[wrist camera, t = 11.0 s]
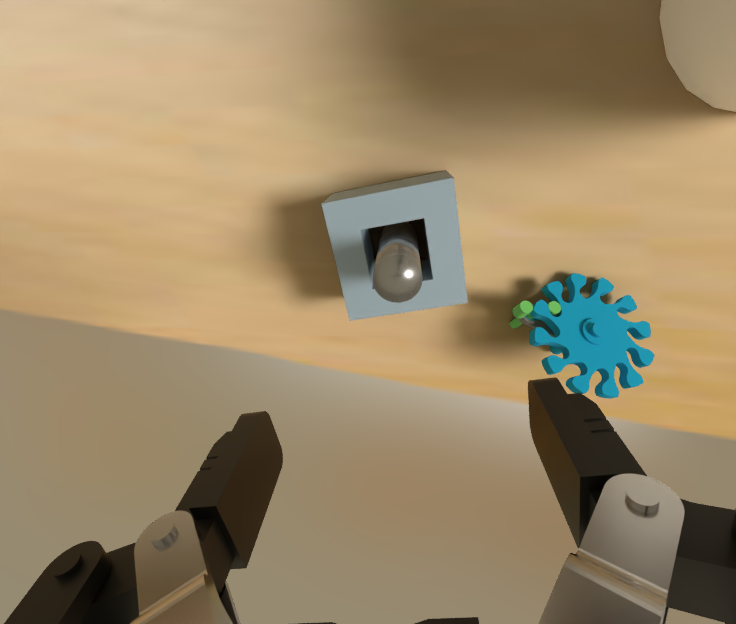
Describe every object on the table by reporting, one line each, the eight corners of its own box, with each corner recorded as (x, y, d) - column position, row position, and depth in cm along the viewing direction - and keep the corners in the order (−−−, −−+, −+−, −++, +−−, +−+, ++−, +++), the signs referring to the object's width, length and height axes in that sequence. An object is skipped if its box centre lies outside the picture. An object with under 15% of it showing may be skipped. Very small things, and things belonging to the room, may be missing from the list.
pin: (377, 224, 33) (368, 260, 24) (413, 217, 33) (418, 251, 23) (384, 259, 34) (377, 306, 25) (419, 253, 34) (425, 298, 25)
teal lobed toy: (669, 303, 32) (649, 420, 29) (617, 325, 38) (594, 426, 34) (543, 244, 33) (507, 352, 29) (509, 275, 38) (476, 369, 35)
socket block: (332, 193, 32) (321, 203, 28) (445, 170, 31) (453, 177, 26) (356, 296, 36) (349, 320, 31) (459, 279, 34) (467, 302, 30)
